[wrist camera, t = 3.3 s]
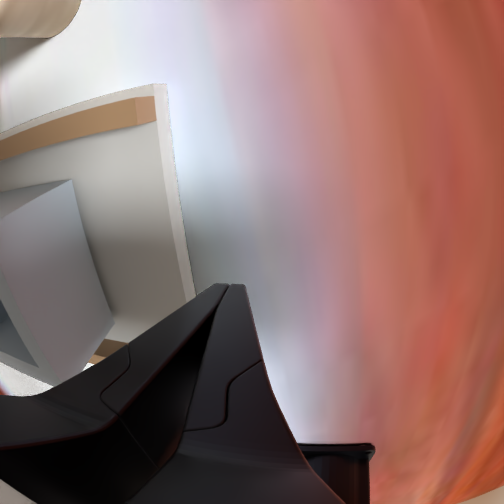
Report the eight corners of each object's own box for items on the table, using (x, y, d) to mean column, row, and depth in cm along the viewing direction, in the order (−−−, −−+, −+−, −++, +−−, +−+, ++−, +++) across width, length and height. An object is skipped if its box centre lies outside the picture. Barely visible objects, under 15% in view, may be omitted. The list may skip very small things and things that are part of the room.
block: (71, 179, 10) (-14, 228, 6) (115, 323, 13) (68, 391, 9) (-13, 195, 11) (-74, 232, 7) (27, 306, 14) (-16, 353, 10)
